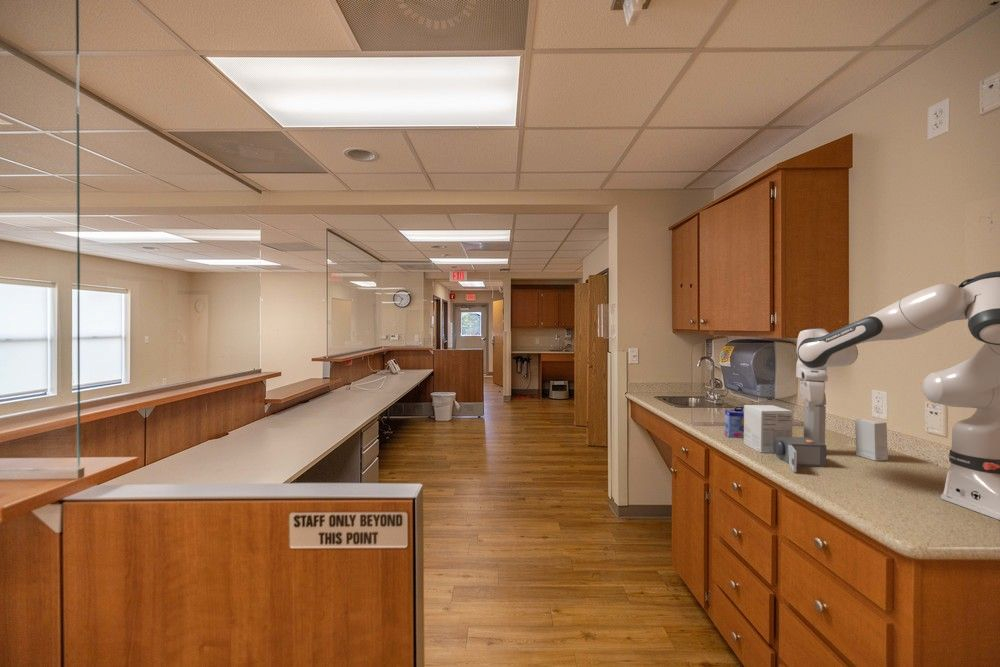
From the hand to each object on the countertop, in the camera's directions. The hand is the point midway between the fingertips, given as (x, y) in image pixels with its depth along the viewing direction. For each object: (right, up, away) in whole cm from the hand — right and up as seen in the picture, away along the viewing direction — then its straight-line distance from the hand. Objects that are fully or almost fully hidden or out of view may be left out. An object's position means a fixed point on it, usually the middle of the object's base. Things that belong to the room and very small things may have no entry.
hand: (810, 411), depth 152 cm
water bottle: (+19, -21, +24) cm, 38 cm away
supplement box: (+2, -21, +28) cm, 35 cm away
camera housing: (+4, -21, +11) cm, 25 cm away
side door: (-5, -21, +3) cm, 22 cm away
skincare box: (+36, -22, +16) cm, 45 cm away
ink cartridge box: (0, -21, +48) cm, 52 cm away
